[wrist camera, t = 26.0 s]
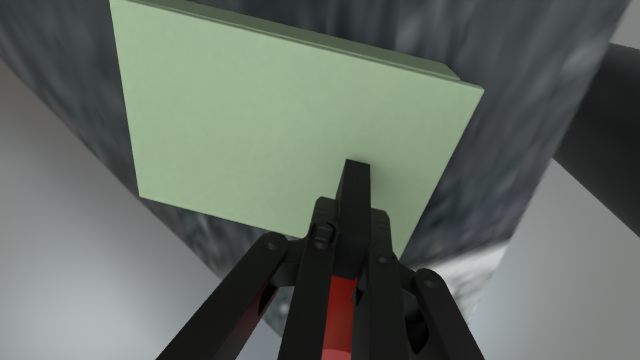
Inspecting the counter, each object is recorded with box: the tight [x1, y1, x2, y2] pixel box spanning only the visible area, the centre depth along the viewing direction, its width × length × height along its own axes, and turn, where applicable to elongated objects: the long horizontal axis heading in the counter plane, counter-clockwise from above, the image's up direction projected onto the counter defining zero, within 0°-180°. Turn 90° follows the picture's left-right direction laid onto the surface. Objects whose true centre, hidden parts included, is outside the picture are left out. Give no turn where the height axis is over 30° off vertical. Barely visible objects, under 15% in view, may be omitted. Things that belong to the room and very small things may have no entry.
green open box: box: [137, 0, 460, 81], centre depth 23 cm, size 20×14×5 cm
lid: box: [109, 0, 484, 261], centre depth 20 cm, size 21×14×1 cm, turn 78°
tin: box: [322, 276, 357, 360], centre depth 27 cm, size 5×5×12 cm
